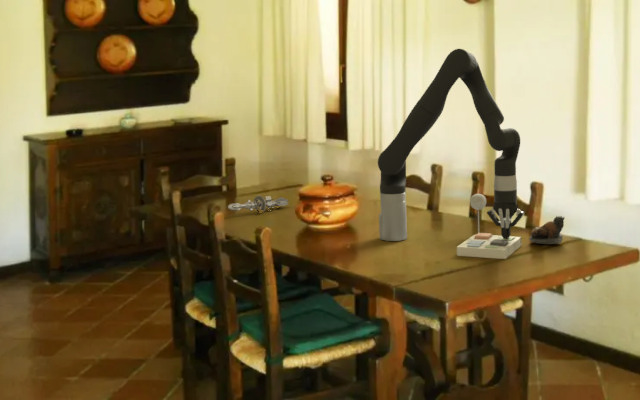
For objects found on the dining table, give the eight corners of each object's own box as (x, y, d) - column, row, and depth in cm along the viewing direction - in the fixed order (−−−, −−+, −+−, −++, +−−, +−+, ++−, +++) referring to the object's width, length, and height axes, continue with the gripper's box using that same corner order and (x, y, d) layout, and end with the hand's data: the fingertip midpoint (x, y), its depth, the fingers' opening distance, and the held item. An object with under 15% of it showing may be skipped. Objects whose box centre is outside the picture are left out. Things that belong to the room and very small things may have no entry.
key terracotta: (474, 242, 309) (474, 235, 309) (478, 239, 313) (478, 232, 313) (487, 243, 307) (487, 236, 306) (491, 240, 311) (491, 233, 310)
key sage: (497, 246, 305) (497, 239, 305) (501, 243, 309) (501, 236, 309) (510, 247, 303) (510, 240, 303) (514, 244, 307) (514, 237, 307)
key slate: (467, 250, 302) (467, 243, 302) (471, 247, 306) (471, 240, 306) (480, 251, 300) (480, 244, 300) (484, 248, 304) (484, 241, 304)
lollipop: (486, 236, 325) (486, 195, 322) (470, 236, 326) (469, 195, 323) (487, 232, 331) (486, 192, 328) (470, 232, 332) (470, 192, 329)
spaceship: (220, 201, 378) (231, 195, 372) (280, 196, 403) (291, 191, 397) (224, 219, 376) (236, 213, 371) (284, 213, 401) (296, 208, 396)
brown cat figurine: (526, 244, 309) (526, 215, 308) (534, 240, 315) (534, 212, 313) (560, 247, 303) (560, 218, 301) (567, 243, 308) (567, 214, 307)
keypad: (456, 255, 299) (456, 245, 298) (475, 242, 316) (475, 232, 315) (505, 259, 291) (505, 248, 290) (521, 245, 308) (521, 235, 308)
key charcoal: (490, 249, 298) (490, 242, 298) (494, 246, 302) (494, 239, 302) (504, 250, 296) (503, 243, 296) (507, 247, 300) (507, 240, 300)
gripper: (527, 186, 303) (528, 236, 306) (489, 185, 309) (490, 234, 312) (521, 190, 296) (522, 241, 300) (483, 189, 303) (483, 239, 306)
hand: (506, 238), depth 306 cm, fingers closed
